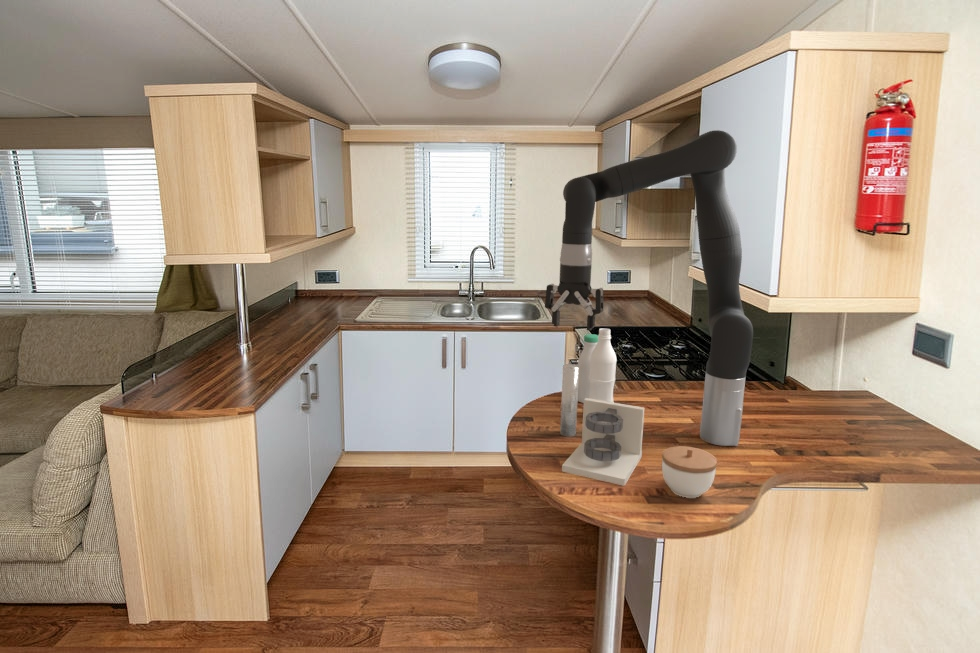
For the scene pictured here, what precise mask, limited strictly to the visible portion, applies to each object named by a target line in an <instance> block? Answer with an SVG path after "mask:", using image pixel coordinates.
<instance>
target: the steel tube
mask: <svg viewBox="0 0 980 653" xmlns="http://www.w3.org/2000/svg"><path fill="white" fill-rule="evenodd" d="M561 378H562V380H561V381H562V382H561V383H562V384H561V403H560V405H559V406H560V407H559V411H560V428H559V430H560V432H559V434H560V435H561V436H563V437H568V438H571V437H575V436H576V435H577V421H578V420H577V418H578V401H577V399H578V378H579V366H578V364H573V363H572V364H570V363H568V364H564V365H563V366H562V377H561Z"/></svg>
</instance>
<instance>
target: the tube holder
mask: <svg viewBox="0 0 980 653" xmlns="http://www.w3.org/2000/svg"><path fill="white" fill-rule="evenodd" d="M613 402H614V401H613ZM613 402H607V401H602V400H596V399H590V398H585V399H584V403H583V406H582V408H583V411H582V429H581V430H582V431H581V432H582V433H581V434H582V435H581V443H579V446H577V448H576V449H575V450H574V451H573V452H572V453H571V455H570V456H569V457H568V458H567V459H566V460H565V462H564V463H563V464H562V465H561V472H564V473H566V474H571V475H575V476H580V477H584V478H587V479H588V478H589V479H593V480H597V481H601V482H606V483H609V484H613V485H619V486H623V487H625V486H626V484H627V483H628V480H629V479H630V477H631V475H632V473H633V472H634V471H635V468H636V467H637V465H638V464H639V462H640V460H641V459H642V455H643V451H642V450H643V449H642V446H643V433H644V432H643V430H644V421H645V407H643V406H642V407H641V406H635V405H630V404H623V403H619V402H614V403H613ZM608 408H611V409H617V415H619V416H621V417H622V419H623V429H622V430H621V431H620V432H617V433H614V434H609V435H615V441H616V442H618V443H619V444H620V445H621V456H620V458H619V459H617V460H614V461H598V460H593V459H591V458H589V457H587V456H586V455H585V453H584V443H585V442H586V441H587V440H589V439H593V438H604V437H605V436H606V434H604V433H597V432H593V431H591V430H589V429H587V427H586V425H585V420H586V416H587V415H588V414H589V413H592V412H605V411H606V410H607V409H608ZM600 423H610V422H604V421H601V422H600ZM594 449H595V450H600V451H611V450H610V449H606V448H594Z"/></svg>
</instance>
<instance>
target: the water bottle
mask: <svg viewBox="0 0 980 653" xmlns="http://www.w3.org/2000/svg"><path fill="white" fill-rule="evenodd" d="M598 335H599V336H598V338H599V339H598V343H597V345H596V346H595V348H594V350H593V351H592V353H591V356H590V375H589V381H590V394H589V398H590V399H596V400H602V401H607V402H613V403H615V402H614V387H615V382H616V369H617V368H616V367H617V354H616V352H615V350H614V348H613V346H612V343H611V339H612V335H611V329H610V328H605V327H604V328H599V330H598Z"/></svg>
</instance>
